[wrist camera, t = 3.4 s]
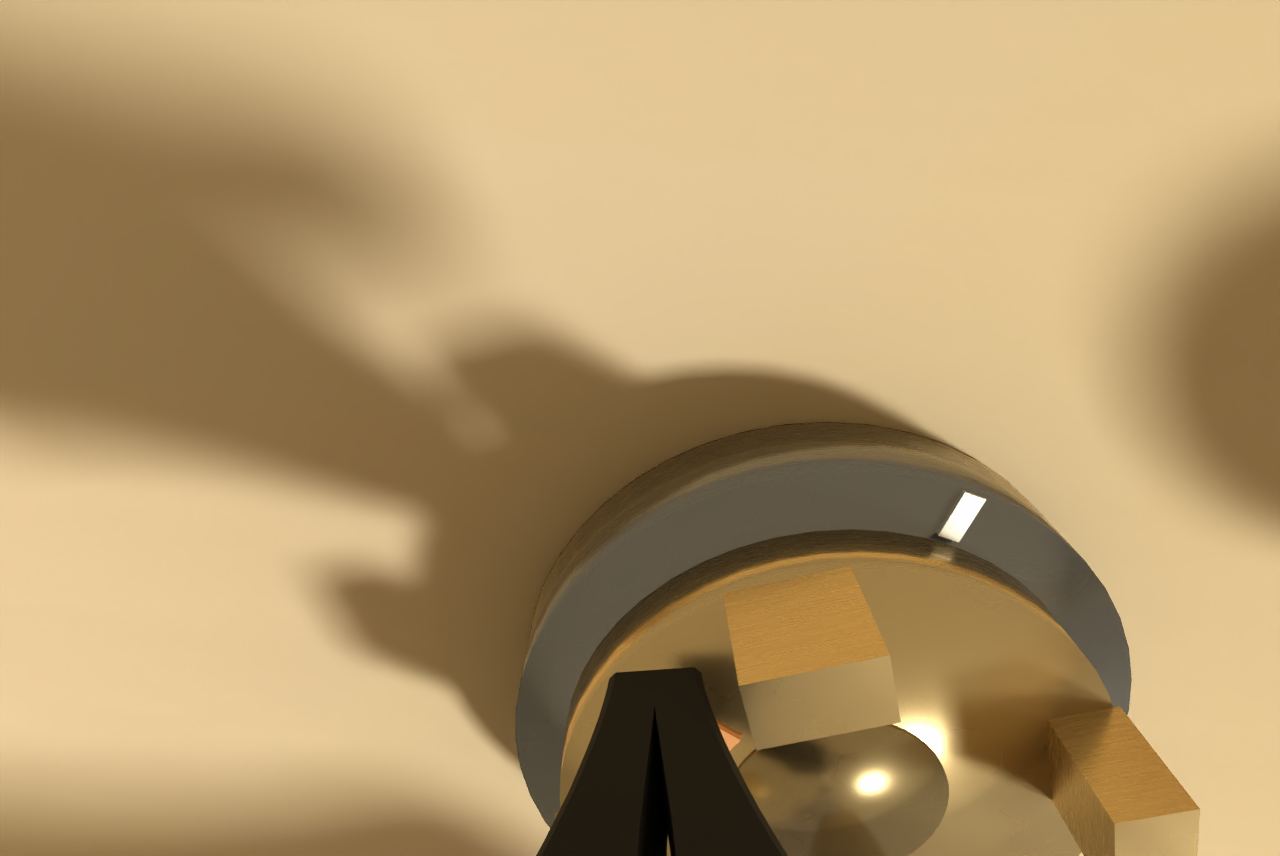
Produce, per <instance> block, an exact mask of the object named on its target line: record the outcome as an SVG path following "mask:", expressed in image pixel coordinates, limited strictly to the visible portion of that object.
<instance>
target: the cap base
mask: <svg viewBox="0 0 1280 856" xmlns="http://www.w3.org/2000/svg"><path fill="white" fill-rule="evenodd" d="M848 529H854V530H871V531H889V532H895V533H900V534H906V535H912V536H917V537H923V538H928V539H931V540H934V541H937V542H941V543H944V544H947V545H950V546H954V547H957V548H960V549H962V550H965V551H967V552H969V553H971V554H973V555H975V556H978V557H980V558H982V559H984V560H986V561H988V562H991V563H992V564H994V565H995V566H997V567H999V568H1000V569H1002V570H1003V571H1005V572H1006V573H1008V574H1009V575H1011V576H1012V577H1014V578H1016V579H1017V580H1019V581H1020V582H1021V583H1022V584H1023V585H1024V586H1025V587H1026V588H1028V589H1029V590H1030V591H1031V592H1032V593H1033V594H1034V595H1035V596H1036V597H1038V598H1039V599H1040V600H1041V601H1042V602H1043V604H1044V605H1045V606H1046V607H1047V609H1048V610H1049V611H1050V612H1051V614H1052V615H1053V616H1054V617H1055V619H1056V620H1057V621H1058V622H1059V624H1060V625H1061V626H1062V628H1063V629H1064V630H1065V631H1066V633H1067V634H1068V635H1069V636H1070V638H1071V639H1072V640H1073V642H1074V643H1075V644H1076V645H1077V647H1078V648H1079V649H1080V650H1081V652H1082V653H1083V654H1084V656H1085V657H1086V658H1087V659H1088V661H1089V662H1090V663H1091V664H1092V666H1093V667H1094V668H1095V670H1096V671H1097V673H1098V675H1099V677H1100V679H1101V681H1102V683H1103V684H1104V686H1105V688H1106V690H1107V692H1108V694H1109V696H1110V699H1111V703H1112V706H1113V707H1118V706H1120V707H1121V708H1122V710H1123V711H1124V712H1125V713H1126V715H1127V714H1128V711H1129V701H1130V690H1131V668H1130V657H1129V648H1128V644H1127V640H1126V637H1125V633H1124V630H1123V626H1122V623H1121V619H1120V617H1119V615H1118V613H1117V611H1116V609H1115V606H1114V604H1113V602H1112V600H1111V598H1110V596H1109V594H1108V592H1107V590H1106V588H1105V587H1104V586H1103V584H1102V583H1101V582H1100V580H1099V579H1098V578H1097V576H1096V575H1095V574H1094V572H1093V571H1092V570H1091V568H1090V567H1089V566H1088V564H1087V563H1086V562H1085V560H1084V559H1083V558H1082V557H1081V556H1080V555H1079V554H1078V553H1077V552H1076V551H1075V550H1074V549H1073V548H1072V547H1071V546H1070V544H1069V543H1068V542H1067V541H1066V540H1065V539H1064V538H1063V537H1062V536H1061V535H1060V534H1059V533H1058V532H1057V531H1056V530H1055V529H1054V527H1053V526H1052V525H1051V524H1050V523H1049V522H1048V521H1047V520H1046V519H1045V518H1044V517H1043V516H1042V515H1041V514H1040V513H1039V512H1038V511H1037V509H1036V508H1035V507H1034V506H1033V505H1032V504H1031V503H1030V502H1029V501H1028V500H1027V499H1026V498H1025V497H1024V496H1022V495H1021V494H1020V493H1019V492H1018V491H1017V490H1016V489H1015V488H1014V487H1013V486H1012V485H1011V484H1010V483H1009V482H1008V481H1007V480H1005V479H1004V478H1002V477H1001V476H999V475H998V474H996V473H995V472H994V471H992V470H991V469H989V468H988V467H986V466H985V465H983V464H982V463H980V462H979V461H978V460H975V459H973V458H971V457H969V456H967V455H965V454H963V453H961V452H959V451H957V450H955V449H953V448H951V447H949V446H947V445H945V444H942V443H939V442H936V441H933V440H930V439H927V438H924V437H921V436H918V435H915V434H911V433H908V432H904V431H898V430H893V429H888V428H883V427H877V426H872V425H863V424H847V423H831V422H824V423H806V424H789V425H781V426H776V427H770V428H764V429H759V430H753V431H747V432H743V433H740V434H736V435H733V436H730V437H726V438H723V439H720V440H716V441H713V442H710V443H706V444H704V445H702V446H699V447H697V448H695V449H692V450H690V451H688V452H685V453H683V454H681V455H679V456H676V457H674V458H672V459H669V460H667V461H666V462H664V463H662V464H661V465H659V466H657V467H656V468H654V469H652V470H650V471H649V472H647V473H645V474H644V475H642V476H640V477H639V478H637V479H635V480H634V481H632V482H631V483H630V484H629V485H627V486H626V487H625V488H623V489H622V490H621V491H620V492H618V493H617V494H616V495H614V496H613V497H612V498H610V499H609V500H608V501H607V502H605V503H604V504H603V505H602V506H601V507H600V508H599V509H598V510H597V511H596V512H595V513H594V514H593V515H592V516H591V517H590V518H589V519H588V520H587V521H586V522H585V523H584V524H583V525H582V526H581V527H580V529H579V530H578V531H577V533H576V534H575V535H574V537H573V538H572V539H571V541H570V542H569V543H568V545H567V546H566V547H565V549H564V550H563V551H562V553H561V554H560V556H559V558H558V559H557V561H556V563H555V565H554V567H553V569H552V571H551V572H550V574H549V576H548V578H547V580H546V582H545V584H544V586H543V589H542V592H541V595H540V598H539V601H538V603H537V606H536V609H535V612H534V617H533V622H532V627H531V632H530V637H529V642H528V647H527V653H526V658H525V663H524V668H523V673H522V678H521V683H520V689H519V695H518V700H517V706H516V744H517V750H518V755H519V761H520V767H521V770H522V773H523V776H524V779H525V781H526V784H527V787H528V790H529V793H530V795H531V797H532V799H533V801H534V803H535V804H536V806H537V808H538V810H539V812H540V813H541V815H542V817H543V819H544V821H545V822H546V823H547V824H548V826H549V827H550V828H551V826H552V824H553V822H554V820H555V813H558V812H559V810H560V808H561V806H560V776H561V766H562V757H563V748H564V739H565V731H566V722H567V718H568V713H569V708H570V704H571V699H572V696H573V693H574V691H575V688H576V686H577V683H578V681H579V678H580V676H581V673H582V671H583V669H584V668H585V666H586V664H587V663H588V661H589V659H590V658H591V656H592V654H593V653H594V651H595V649H596V648H597V646H598V645H599V644H600V642H601V641H602V640H603V639H604V638H605V636H606V635H607V634H608V633H609V631H610V630H611V629H612V628H613V627H614V625H615V624H616V623H617V622H618V621H619V620H620V619H621V618H622V617H623V616H624V615H625V614H626V613H628V612H629V611H630V610H631V609H632V608H633V607H634V606H635V605H636V604H637V603H638V602H639V601H641V600H642V599H643V598H645V597H646V596H647V595H649V594H650V593H652V592H653V591H654V590H656V589H657V588H659V587H660V586H661V585H663V584H664V583H666V582H667V581H668V580H670V579H672V578H674V577H675V576H677V575H679V574H681V573H683V572H685V571H686V570H688V569H690V568H692V567H694V566H696V565H697V564H699V563H701V562H704V561H706V560H708V559H711V558H713V557H716V556H718V555H721V554H723V553H726V552H728V551H731V550H733V549H736V548H739V547H742V546H746V545H750V544H753V543H757V542H760V541H764V540H767V539H771V538H775V537H781V536H787V535H793V534H799V533H806V532H812V531H829V530H848Z"/></svg>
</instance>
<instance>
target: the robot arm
mask: <svg viewBox="0 0 1280 856" xmlns="http://www.w3.org/2000/svg"><path fill="white" fill-rule="evenodd" d="M668 839H669V846H670V854H671V856H788V855H787V853H786V852H785V850H784V849H783V847H782V845H781V844H780V842H779V841H778V839H777V837H776V836H775V834H774V832H773V831H772V829H771V827H770V826H769V824H768V822H767V820H766V819H765V817H764V815H763V814H762V812H761V810H760V809H759V807H758V805H757V803H756V801H755V800H754V798H753V796H752V794H751V792H750V790H749V789H748V787H747V785H746V783H745V781H744V779H743V777H742V775H741V773H740V771H739V769H738V767H737V765H736V763H735V761H734V759H733V757H732V755H731V753H730V751H729V749H728V747H727V745H726V742H725V740H724V738H723V736H722V733H721V731H720V729H719V726H718V724H717V721H716V719H715V716H714V714H713V711H712V708H711V706H710V703H709V700H708V697H707V694H706V690H705V687H704V683H703V679H702V673H701V672H700V671H699V670H697V669H696V668H695V667H688V668H674V669H659V670H645V671H630V672H616V673H615V674H614V675H613V676H612V677H610V678H609V682H608V686H607V691H606V695H605V698H604V702H603V705H602V708H601V711H600V715H599V717H598V720H597V723H596V726H595V729H594V731H593V734H592V737H591V740H590V742H589V745H588V747H587V750H586V752H585V755H584V757H583V759H582V762H581V764H580V766H579V769H578V771H577V774H576V776H575V778H574V781H573V783H572V785H571V788H570V790H569V792H568V794H567V796H566V798H565V800H564V802H563V804H562V806H561V808H560V810H559V812H558V814H557V816H556V818H555V820H554V822H553V824H552V826H551V829H550V831H549V833H548V835H547V837H546V839H545V841H544V842H543V844H542V846H541V848H540V850H539V852H538V854H537V855H536V856H667V840H668Z"/></svg>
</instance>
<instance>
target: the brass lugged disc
mask: <svg viewBox="0 0 1280 856" xmlns="http://www.w3.org/2000/svg"><path fill="white" fill-rule="evenodd" d="M688 667H695V668H696V669H697V670H699V671H700V672H701V673H702V679H703V683H704V687H705V690H706V694H707V697H708V700H709V703H710V706H711V708H712V711H713V714H714V716H715V719H716V721H717V724H718V726H719V729H720V731H721V733H722V736H723V738H724V740H725V742H726V745H727V747H728V749H729V751H730V753H731V755H732V757H733V759H734V761H735V763H736V765H737V767H738V769H739V771H740V773H741V775H742V777H743V779H744V781H745V783H746V785H747V787H748V789H749V790H750V792H751V794H752V796H753V798H754V800H755V801H756V803H757V805H758V807H759V809H760V810H761V812H762V814H763V815H764V817H765V819H766V820H767V822H768V824H769V826H770V827H771V829H772V831H773V832H774V834H775V836H776V837H777V839H778V841H779V842H780V844H781V845H782V847H783V849H784V850H785V852H786V853H787V855H788V856H1078V855H1079V854H1080V853H1081V852H1082V853H1083V855H1084V856H1197V850H1198V833H1199V816H1200V809H1199V807H1198V806H1197V805H1196V803H1195V802H1194V801H1193V800H1192V798H1191V797H1190V796H1189V794H1188V793H1187V792H1186V791H1185V789H1184V788H1183V787H1182V785H1181V784H1180V783H1179V782H1178V780H1177V779H1176V778H1175V776H1174V775H1173V774H1172V773H1171V771H1170V770H1169V769H1168V767H1167V766H1166V765H1165V764H1164V762H1163V761H1162V760H1161V758H1160V757H1159V756H1158V755H1157V753H1156V752H1155V751H1154V749H1153V748H1152V747H1151V746H1150V744H1149V743H1148V742H1147V740H1146V739H1145V738H1144V737H1143V735H1142V734H1141V733H1140V731H1139V730H1138V729H1137V728H1136V726H1135V725H1134V724H1133V722H1132V721H1131V720H1130V719H1129V717H1128V716H1127V715H1126V713H1125V712H1124V711H1123V710H1122V708H1121V707H1120V706H1118V707H1113V706H1112V703H1111V699H1110V696H1109V694H1108V692H1107V690H1106V688H1105V686H1104V684H1103V683H1102V681H1101V679H1100V677H1099V675H1098V673H1097V671H1096V670H1095V668H1094V667H1093V666H1092V664H1091V663H1090V662H1089V661H1088V659H1087V658H1086V657H1085V656H1084V654H1083V653H1082V652H1081V650H1080V649H1079V648H1078V647H1077V645H1076V644H1075V643H1074V642H1073V640H1072V639H1071V638H1070V636H1069V635H1068V634H1067V633H1066V631H1065V630H1064V629H1063V628H1062V626H1061V625H1060V624H1059V622H1058V621H1057V620H1056V619H1055V617H1054V616H1053V615H1052V614H1051V612H1050V611H1049V610H1048V609H1047V607H1046V606H1045V605H1044V604H1043V602H1042V601H1041V600H1040V599H1039V598H1038V597H1036V596H1035V595H1034V594H1033V593H1032V592H1031V591H1030V590H1029V589H1028V588H1026V587H1025V586H1024V585H1023V584H1022V583H1021V582H1020V581H1019V580H1017V579H1016V578H1014V577H1012V576H1011V575H1009V574H1008V573H1006V572H1005V571H1003V570H1002V569H1000V568H999V567H997V566H995V565H994V564H992V563H991V562H988V561H986V560H984V559H982V558H980V557H978V556H975V555H973V554H971V553H969V552H967V551H965V550H962V549H960V548H957V547H954V546H950V545H947V544H944V543H941V542H937V541H934V540H931V539H928V538H923V537H917V536H912V535H906V534H900V533H895V532H889V531H871V530H854V529H848V530H829V531H812V532H806V533H799V534H793V535H787V536H781V537H775V538H771V539H767V540H764V541H760V542H757V543H753V544H750V545H746V546H742V547H739V548H736V549H733V550H731V551H728V552H726V553H723V554H721V555H718V556H716V557H713V558H711V559H708V560H706V561H704V562H701V563H699V564H697V565H696V566H694V567H692V568H690V569H688V570H686V571H685V572H683V573H681V574H679V575H677V576H675V577H674V578H672V579H670V580H668V581H667V582H666V583H664V584H663V585H661V586H660V587H659V588H657V589H656V590H654V591H653V592H652V593H650V594H649V595H647V596H646V597H645V598H643V599H642V600H641V601H639V602H638V603H637V604H636V605H635V606H634V607H633V608H632V609H631V610H630V611H629V612H628V613H626V614H625V615H624V616H623V617H622V618H621V619H620V620H619V621H618V622H617V623H616V624H615V625H614V627H613V628H612V629H611V630H610V631H609V633H608V634H607V635H606V636H605V638H604V639H603V640H602V641H601V642H600V644H599V645H598V646H597V648H596V649H595V651H594V653H593V654H592V656H591V658H590V659H589V661H588V663H587V664H586V666H585V668H584V669H583V671H582V673H581V676H580V678H579V681H578V683H577V686H576V688H575V691H574V693H573V696H572V699H571V704H570V708H569V713H568V718H567V722H566V731H565V739H564V748H563V757H562V766H561V776H560V806H562V804H563V802H564V800H565V798H566V796H567V794H568V792H569V790H570V788H571V785H572V783H573V781H574V778H575V776H576V774H577V771H578V769H579V766H580V764H581V762H582V759H583V757H584V755H585V752H586V750H587V747H588V745H589V742H590V740H591V737H592V734H593V731H594V729H595V726H596V723H597V720H598V717H599V715H600V711H601V708H602V705H603V702H604V698H605V695H606V691H607V686H608V682H609V678H610V677H612V676H613V675H614V674H615V673H616V672H630V671H645V670H659V669H674V668H688ZM557 814H558V813H555V818H556V816H557ZM667 856H671V854H670V846H669V839H668V840H667Z"/></svg>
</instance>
